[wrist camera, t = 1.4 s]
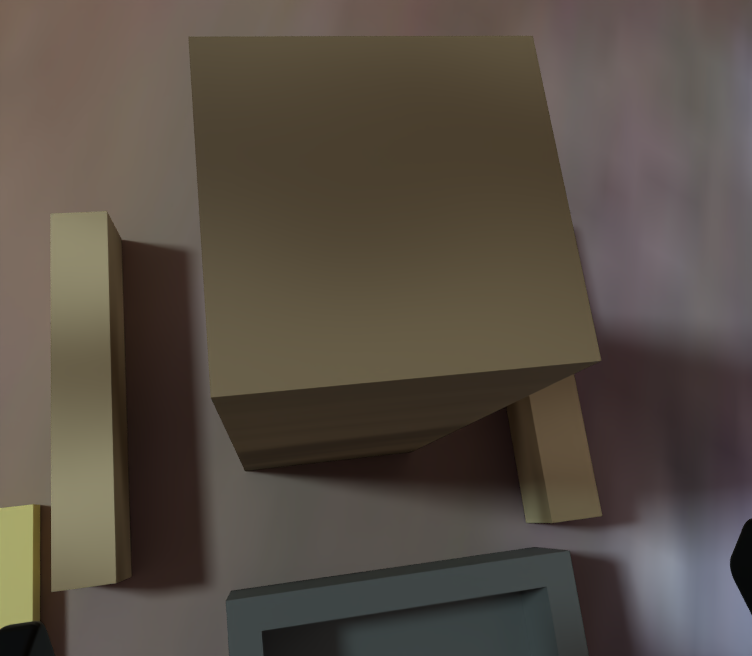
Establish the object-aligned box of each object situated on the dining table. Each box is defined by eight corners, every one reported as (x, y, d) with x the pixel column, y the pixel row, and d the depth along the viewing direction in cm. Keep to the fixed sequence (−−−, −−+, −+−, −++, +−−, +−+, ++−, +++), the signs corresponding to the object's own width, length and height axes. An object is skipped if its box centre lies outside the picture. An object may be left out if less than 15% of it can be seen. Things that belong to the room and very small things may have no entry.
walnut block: (411, 452, 21) (601, 360, 9) (245, 470, 20) (210, 397, 8) (390, 296, 22) (532, 35, 10) (233, 308, 21) (188, 35, 9)
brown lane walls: (572, 516, 21) (602, 516, 19) (73, 584, 18) (51, 592, 17) (515, 218, 24) (537, 191, 22) (70, 241, 21) (50, 213, 19)
